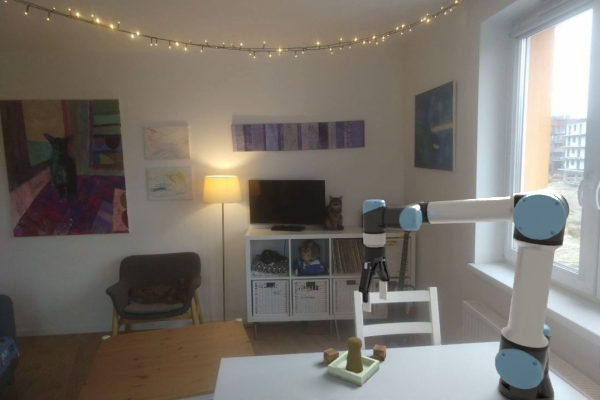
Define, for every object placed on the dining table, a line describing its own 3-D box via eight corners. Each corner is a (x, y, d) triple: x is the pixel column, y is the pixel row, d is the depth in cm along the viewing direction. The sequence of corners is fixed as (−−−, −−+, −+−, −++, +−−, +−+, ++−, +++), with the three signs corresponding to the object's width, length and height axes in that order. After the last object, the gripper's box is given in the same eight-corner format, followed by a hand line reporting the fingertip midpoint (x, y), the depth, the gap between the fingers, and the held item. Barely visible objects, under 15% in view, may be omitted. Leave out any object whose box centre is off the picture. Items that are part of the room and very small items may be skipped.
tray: (379, 369, 142) (379, 360, 142) (361, 386, 132) (361, 377, 131) (347, 358, 150) (347, 350, 149) (328, 373, 139) (328, 365, 139)
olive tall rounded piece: (363, 374, 137) (363, 343, 136) (345, 372, 138) (345, 341, 137) (363, 365, 143) (363, 335, 142) (346, 363, 144) (346, 334, 143)
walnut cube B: (338, 362, 147) (338, 352, 146) (330, 365, 145) (330, 355, 144) (332, 358, 150) (332, 348, 150) (323, 361, 148) (323, 350, 148)
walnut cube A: (386, 356, 151) (386, 346, 151) (384, 361, 147) (384, 350, 147) (375, 354, 153) (375, 344, 152) (373, 359, 149) (373, 349, 149)
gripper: (379, 237, 150) (380, 293, 152) (347, 250, 130) (348, 314, 132) (398, 239, 146) (399, 296, 148) (368, 253, 126) (369, 319, 128)
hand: (375, 305), depth 140 cm, fingers open, 13 cm apart
